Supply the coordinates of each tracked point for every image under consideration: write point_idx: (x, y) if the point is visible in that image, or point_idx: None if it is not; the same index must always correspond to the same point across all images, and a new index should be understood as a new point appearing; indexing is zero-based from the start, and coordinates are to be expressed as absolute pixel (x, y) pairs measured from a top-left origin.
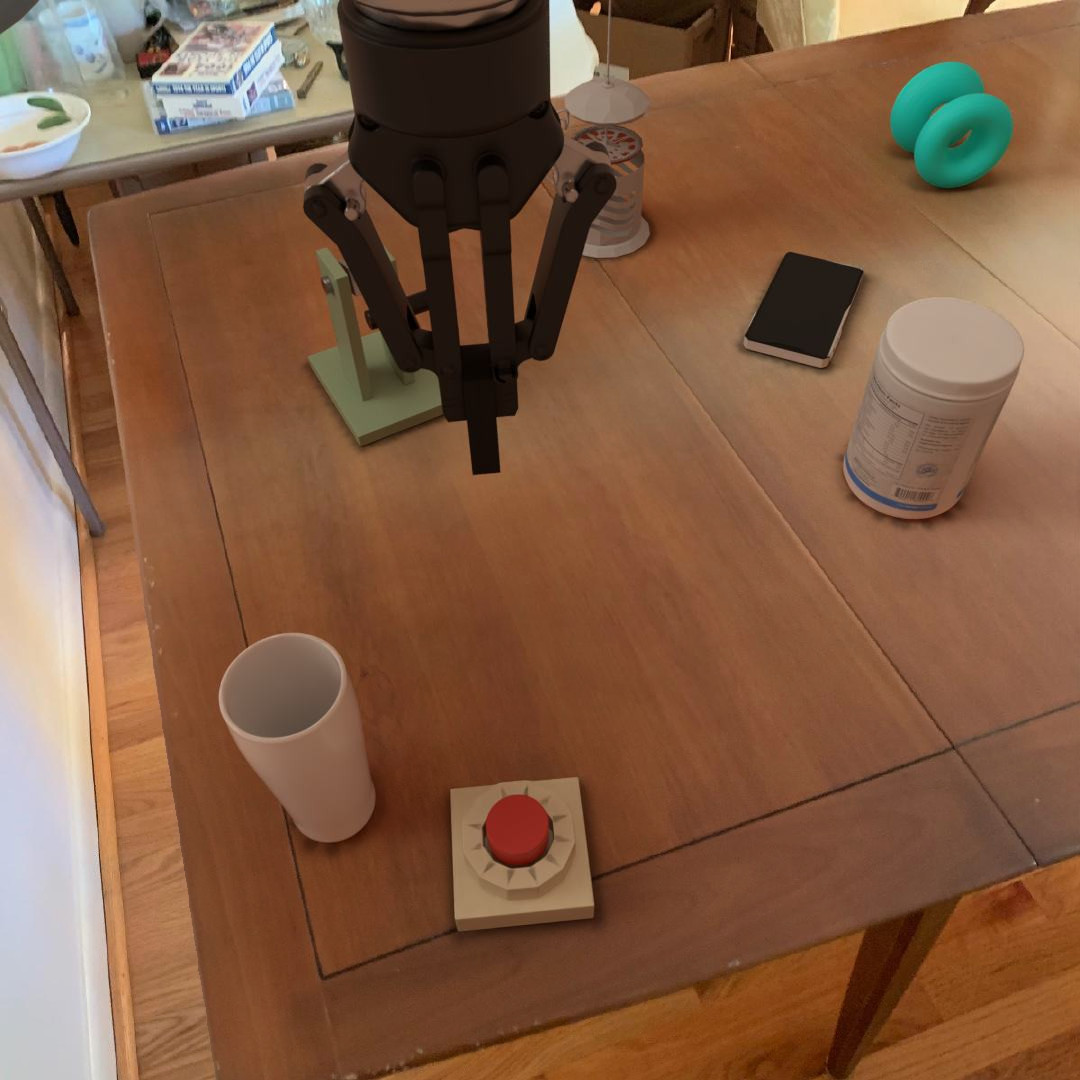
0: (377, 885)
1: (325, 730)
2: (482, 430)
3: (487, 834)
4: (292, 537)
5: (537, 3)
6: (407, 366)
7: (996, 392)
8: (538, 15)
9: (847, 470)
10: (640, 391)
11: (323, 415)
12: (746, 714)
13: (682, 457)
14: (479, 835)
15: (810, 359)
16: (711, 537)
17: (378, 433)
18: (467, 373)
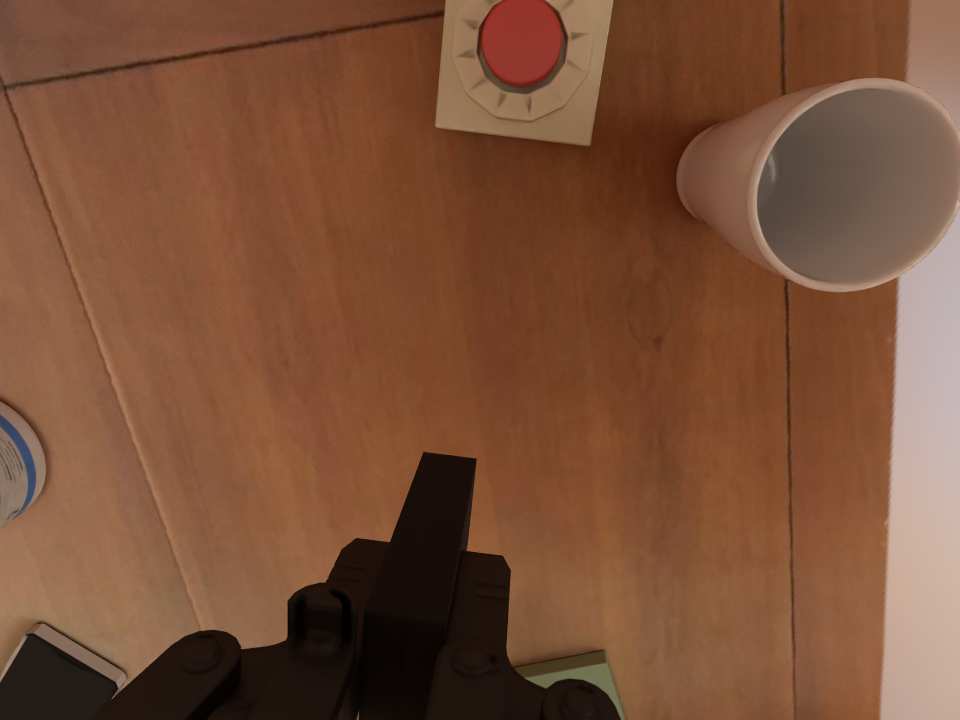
0: (694, 60)
1: (798, 100)
2: (432, 517)
3: (561, 34)
4: (708, 545)
5: None
6: (588, 698)
7: None
8: None
9: (35, 472)
10: (260, 644)
11: (641, 704)
12: (227, 184)
13: (230, 542)
14: (570, 51)
15: (49, 637)
16: (218, 427)
17: (580, 662)
18: (428, 646)
